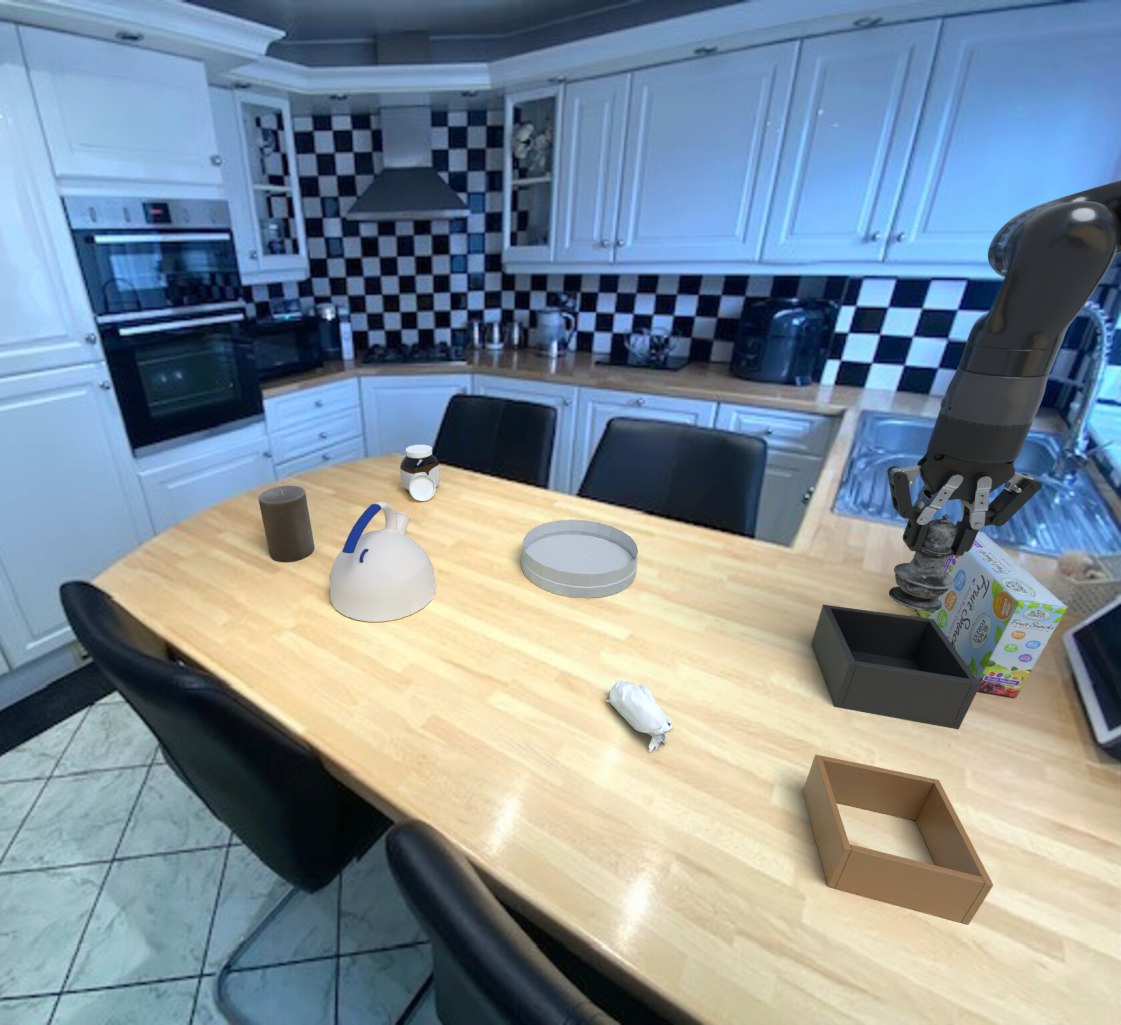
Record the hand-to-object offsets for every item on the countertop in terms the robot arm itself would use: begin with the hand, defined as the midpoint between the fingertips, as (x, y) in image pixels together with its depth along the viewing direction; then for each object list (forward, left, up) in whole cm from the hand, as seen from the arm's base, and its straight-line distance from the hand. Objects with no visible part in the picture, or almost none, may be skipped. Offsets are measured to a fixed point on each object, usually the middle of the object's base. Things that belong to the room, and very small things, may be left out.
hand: (933, 549), depth 68 cm
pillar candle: (+104, -14, -23) cm, 107 cm away
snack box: (-14, -14, -23) cm, 30 cm away
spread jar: (+87, -50, -23) cm, 103 cm away
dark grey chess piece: (0, 0, -7) cm, 7 cm away
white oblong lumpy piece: (+32, +15, -23) cm, 42 cm away
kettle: (+78, -5, -23) cm, 81 cm away
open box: (0, -2, -23) cm, 23 cm away
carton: (+8, +26, -23) cm, 35 cm away
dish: (+44, -23, -23) cm, 54 cm away
